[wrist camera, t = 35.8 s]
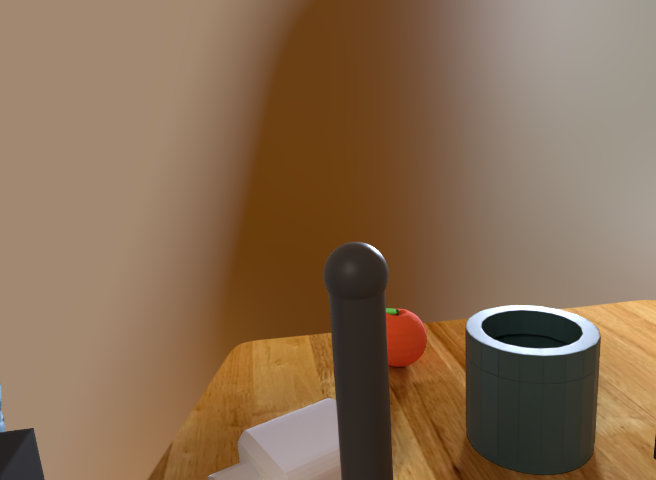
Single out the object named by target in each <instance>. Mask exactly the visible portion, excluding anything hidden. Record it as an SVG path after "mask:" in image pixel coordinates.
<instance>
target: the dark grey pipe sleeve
mask: <svg viewBox="0 0 656 480" xmlns="http://www.w3.org/2000/svg"><path fill="white" fill-rule="evenodd" d="M600 341H601V336H600V333H599V330H598V328H597V327H596V326H595V325H593V324H592V323H591V322H590V321H589V320H587V319H585V318H583V317H580V316H578V315H576V314H574V313H570V312H566V311H563V310H559V309H553V308H547V307H541V306H525V305H515V306H501V307H496V308H491V309H486V310H483V311H481V312H478V313H476V314H474V315H473V316H472V317H471V318H470V319H468V321H467V323H466V427H467V437H468V439H469V441H470V443H471V445H472V446H473V447H474V449H475V450H476V451H477V452H478V453H480V454H481V455H482V456H483V457H485V458H486V459H488V460H490V461H491V462H493V463H495V464H497V465H500V466H502V467H505V468H507V469H511V470H514V471H518V472H523V473H528V474H539V475H551V474H560V473H565V472H569V471H572V470H575V469H577V468H579V467H581V466H583V465H584V464H585V463H586V462H587V461H588V460H589V459H590V458H591V456H592V454H593V449H594V442H595V429H596V411H597V394H598V376H599V358H600Z"/></svg>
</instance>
